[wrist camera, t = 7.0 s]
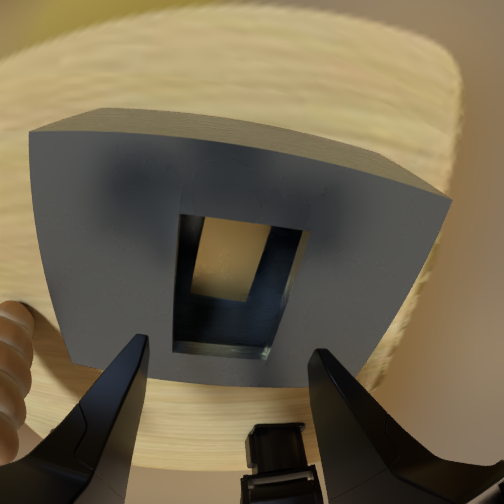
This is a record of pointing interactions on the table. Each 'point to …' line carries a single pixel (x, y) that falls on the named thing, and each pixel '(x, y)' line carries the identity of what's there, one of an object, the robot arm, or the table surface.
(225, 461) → the table surface
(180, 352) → the box
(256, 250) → the tan brushed block
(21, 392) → the tan ribbed tall piece
